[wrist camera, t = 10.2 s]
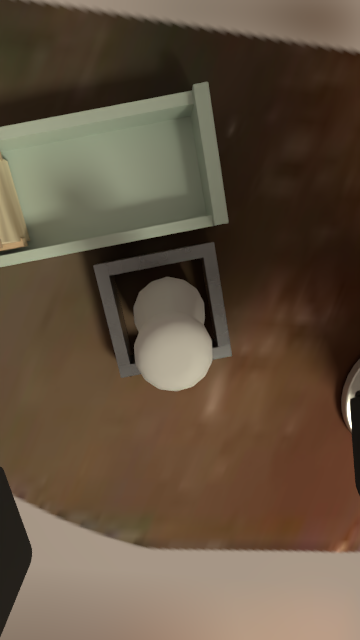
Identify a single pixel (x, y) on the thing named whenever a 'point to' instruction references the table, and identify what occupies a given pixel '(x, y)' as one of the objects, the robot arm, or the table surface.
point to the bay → (115, 174)
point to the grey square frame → (111, 268)
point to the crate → (10, 212)
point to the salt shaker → (171, 335)
